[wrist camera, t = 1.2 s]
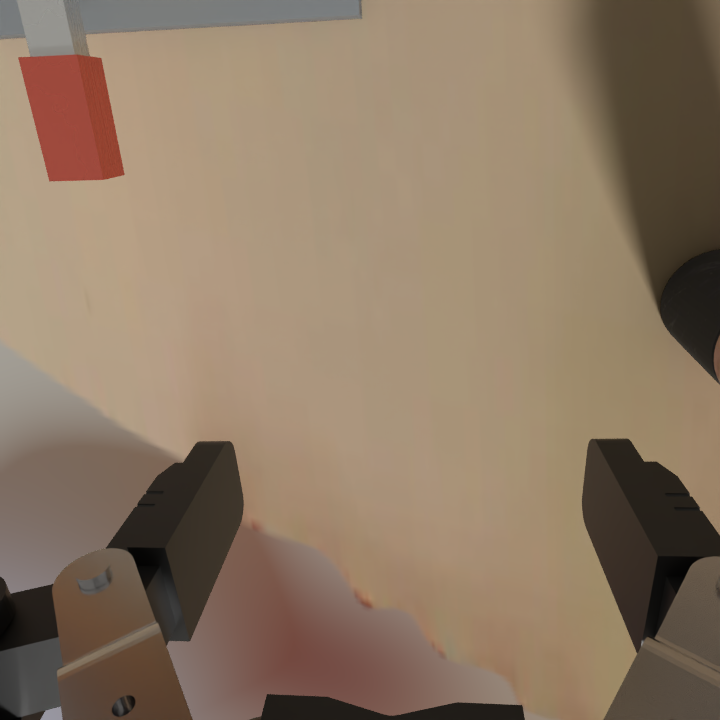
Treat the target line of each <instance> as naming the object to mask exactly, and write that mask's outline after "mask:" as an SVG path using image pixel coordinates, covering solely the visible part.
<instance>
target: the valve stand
mask: <svg viewBox="0 0 720 720" xmlns="http://www.w3.org/2000/svg"><path fill="white" fill-rule="evenodd" d="M78 1H79V6H80V11H81V16H82V21H83V26H84V30H85V34H97V33H115V32H133V31H150V30H168V29H185V28H203V27H221V26H238V25H256V24H274V23H291V22H309V21H327V20H344V19H362V11H361V0H78ZM9 38H26V36H25V32H24V28H23V24H22V19H21V15H20V11H19V7H18V3H17V0H0V39H9Z"/></svg>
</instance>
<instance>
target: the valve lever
mask: <svg viewBox="0 0 720 720" xmlns="http://www.w3.org/2000/svg"><path fill="white" fill-rule="evenodd" d="M17 3H18V7H19V11H20V15H21V19H22V24H23V28H24V32H25V36H26V40H27V44H28V48H29V52H30V56H31V57H19V62H20V66H21V70H22V74H23V78H24V82H25V86H26V90H27V94H28V98H29V102H30V106H31V110H32V114H33V118H34V122H35V126H36V130H37V134H38V138H39V142H40V145H41V149H42V153H43V157H44V161H45V165H46V169H47V173H48V177H49V181H76V180H104V179H109V178H113V177H117V176H121V175H124V170H123V165H122V160H121V155H120V150H119V145H118V140H117V135H116V130H115V125H114V120H113V115H112V110H111V105H110V100H109V95H108V90H107V85H106V80H105V75H104V70H103V65H102V60H101V58H97V57H90V55H89V50H88V45H87V40H86V35H85V30H84V26H83V21H82V16H81V11H80V6H79V1H78V0H17Z"/></svg>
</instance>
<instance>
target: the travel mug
mask: <svg viewBox="0 0 720 720" xmlns="http://www.w3.org/2000/svg"><path fill="white" fill-rule="evenodd" d="M661 316H662V320H663V323H664V325H665V327H666V328H667V330H668V331H669V332H670V334H671V335H672V336H673V337H674V338H675V339H676V340H677V341H678V342H679V343H680V344H681V345H682V346H683V348H684V349H685V350H686V351H687V352H688V353H689V354H690V355H691V356H692V357H693V358H694V359H695V360H696V361H697V362H698V363H699V364H700V365H701V366H702V367H703V368H704V369H705V370H706V371H707V372H708V373H709V374H710V375H711V376H712V377H713V378H714V379H715V380H716V381H717V382H718V383H719V384H720V250H715V251H710V252H707V253H704V254H701V255H699V256H697V257H695V258H693V259H691V260H690V261H688V262H687V263H685V264H684V265H683V266H682V267H680V268H679V269H678V270H677V271H676V272H675V273H674V275H673V276H672V277H671V278H670V280H669V281H668V283H667V285H666V287H665V289H664V291H663V295H662V298H661Z"/></svg>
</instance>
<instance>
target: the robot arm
mask: <svg viewBox="0 0 720 720" xmlns="http://www.w3.org/2000/svg"><path fill="white" fill-rule="evenodd" d="M146 492H147V493H146V494H144V495H143V497H142V498H141V500H140V501H139V502H138V506H137V507H135V508H134V509H133V511H132V512H131V514H130V515H129V516H128V518H127V519H126V521H125V522H124V523H123V525H122V526H121V528H120V529H119V531H118V532H117V533H116V535H115V536H114V537H113V539H112V540H111V542H110V543H109V545H108V546H107V547H106V549H101V550H97V551H94V552H91V553H88V554H86V555H84V556H82V557H80V558H78V559H76V560H75V561H73V562H72V563H70V564H69V565H68V566H67V567H65V568H64V569H63V570H62V571H61V573H60V574H59V575H58V577H57V578H56V580H55V581H54V584H52V585H48V586H43V587H39V588H34V589H30V590H25V591H21V592H16V593H12V594H10V592H9V590H8V587H7V585H6V583H5V581H4V579H3V578H1V577H0V720H40V719H41V717H42V715H43V714H44V712H45V710H49V709H52V708H56V707H60V706H61V710H62V717H63V720H193V719H192V716H191V714H190V711H189V708H188V705H187V702H186V700H185V697H184V694H183V691H182V688H181V685H180V683H179V680H178V677H177V675H176V671H175V669H174V666H173V663H172V660H171V658H170V655H169V652H168V649H167V644H168V642H169V641H190V640H191V637H192V635H193V633H194V630H195V628H196V626H197V623H198V621H199V619H200V616H201V614H202V612H203V610H204V607H205V605H206V602H207V600H208V598H209V595H210V593H211V591H212V589H213V586H214V584H215V581H216V579H217V577H218V574H219V572H220V570H221V568H222V565H223V563H224V560H225V558H226V556H227V554H228V551H229V549H230V547H231V544H232V542H233V540H234V537H235V535H236V532H237V530H238V528H239V526H240V523H241V520H242V515H243V505H244V503H243V493H242V487H241V482H240V476H239V471H238V466H237V460H236V455H235V450H234V446H233V444H232V443H231V442H230V441H203V442H197V443H196V444H195V446H194V447H193V449H192V450H191V452H190V453H189V455H188V456H187V458H186V459H185V461H184V462H183V463H174V464H173V465H172V466H170V467H169V468H168V469H166V470H165V471H164V472H162V473H161V474H159V475H158V476H157V477H156V478H155V480H154V481H153V483H152V484H151V486H150V487H149V488H148V490H147V491H146ZM582 511H583V518H584V522H585V526H586V529H587V531H588V534H589V536H590V538H591V541H592V543H593V546H594V548H595V551H596V553H597V556H598V558H599V561H600V563H601V566H602V568H603V571H604V573H605V575H606V578H607V580H608V583H609V585H610V588H611V590H612V593H613V595H614V598H615V600H616V603H617V605H618V608H619V610H620V612H621V615H622V617H623V620H624V622H625V625H626V627H627V630H628V632H629V635H630V637H631V640H632V642H633V644H634V647H635V649H636V652H637V656H636V657H635V659H634V661H633V663H632V665H631V667H630V669H629V671H628V673H627V675H626V677H625V679H624V681H623V683H622V685H621V687H620V689H619V690H618V692H617V694H616V696H615V698H614V700H613V702H612V704H611V706H610V708H609V710H608V712H607V714H606V716H605V718H604V720H720V535H719V534H718V532H717V531H716V530H715V528H714V527H713V525H712V524H711V523H710V521H709V520H708V518H707V517H706V516H705V514H704V513H703V511H700V507H699V506H698V504H697V503H696V502H695V500H694V499H693V497H690V493H689V492H688V490H687V489H686V488H685V486H684V485H683V483H682V482H681V481H680V479H679V478H678V476H676V475H675V474H673V473H672V472H671V471H669V470H668V469H666V468H665V467H663V466H662V465H661V464H659V463H658V462H644V461H643V459H642V458H641V456H640V455H639V453H638V452H637V450H636V449H635V447H634V445H633V444H632V442H631V441H630V440H629V439H591V440H590V442H589V444H588V449H587V458H586V467H585V477H584V486H583V495H582ZM250 720H525V718H524V713H523V707H522V705H502V704H479V703H452V704H448V705H444V706H438V707H434V708H429V709H424V710H420V711H415V712H411V713H406V714H401V715H396V716H388V715H383V714H380V713H377V712H374V711H371V710H367V709H364V708H361V707H358V706H355V705H352V704H348V703H345V702H342V701H339V700H335V699H332V698H329V697H318V696H317V697H315V696H294V695H271V694H270V695H269V694H267V697H266V700H265V705H264V708H263V712H262V716H261V717H256V718H253V719H250Z"/></svg>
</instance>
